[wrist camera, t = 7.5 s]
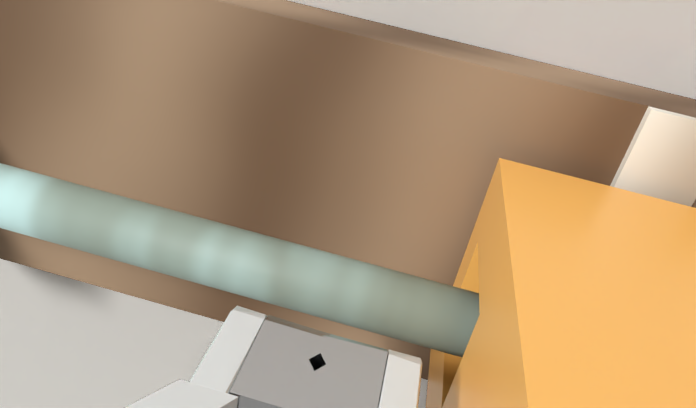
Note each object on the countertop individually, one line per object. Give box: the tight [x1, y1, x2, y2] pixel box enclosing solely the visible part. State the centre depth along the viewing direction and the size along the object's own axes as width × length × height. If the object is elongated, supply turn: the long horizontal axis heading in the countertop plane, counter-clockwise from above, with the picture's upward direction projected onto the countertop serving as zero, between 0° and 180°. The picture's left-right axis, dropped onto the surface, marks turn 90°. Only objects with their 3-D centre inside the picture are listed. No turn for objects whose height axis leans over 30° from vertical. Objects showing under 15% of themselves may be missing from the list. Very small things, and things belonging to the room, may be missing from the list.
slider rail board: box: [0, 0, 696, 380], centre depth 11 cm, size 26×8×7 cm, turn 78°
